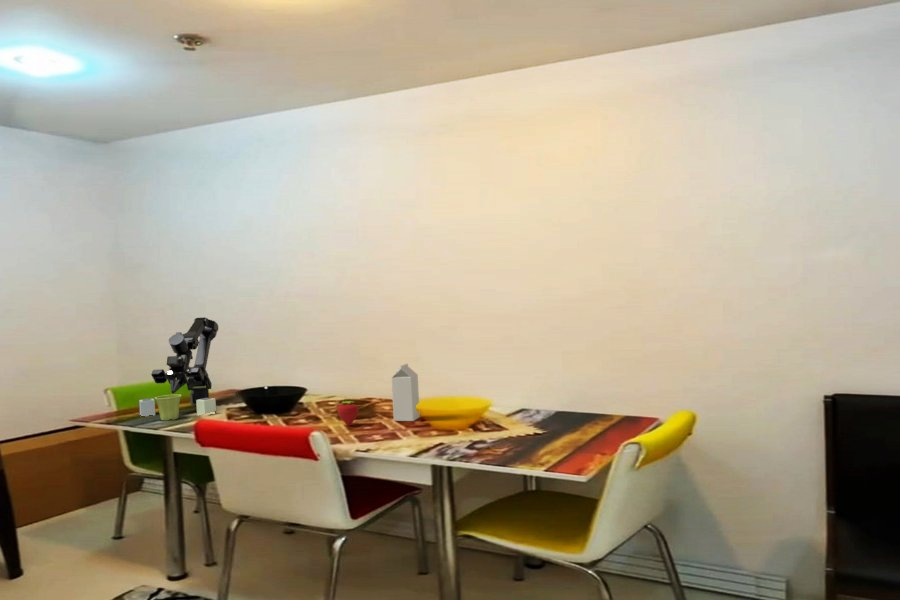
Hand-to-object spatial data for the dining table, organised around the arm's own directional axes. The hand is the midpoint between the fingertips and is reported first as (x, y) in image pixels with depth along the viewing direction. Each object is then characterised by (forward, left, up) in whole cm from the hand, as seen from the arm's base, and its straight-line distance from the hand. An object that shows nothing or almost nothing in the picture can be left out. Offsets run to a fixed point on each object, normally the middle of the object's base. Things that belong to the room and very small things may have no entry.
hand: (172, 392), depth 261 cm
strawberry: (-34, +72, -9) cm, 80 cm away
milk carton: (-53, +79, -9) cm, 95 cm away
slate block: (+6, -13, -9) cm, 17 cm away
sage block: (-10, +7, -9) cm, 15 cm away
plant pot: (+3, +4, -9) cm, 11 cm away
